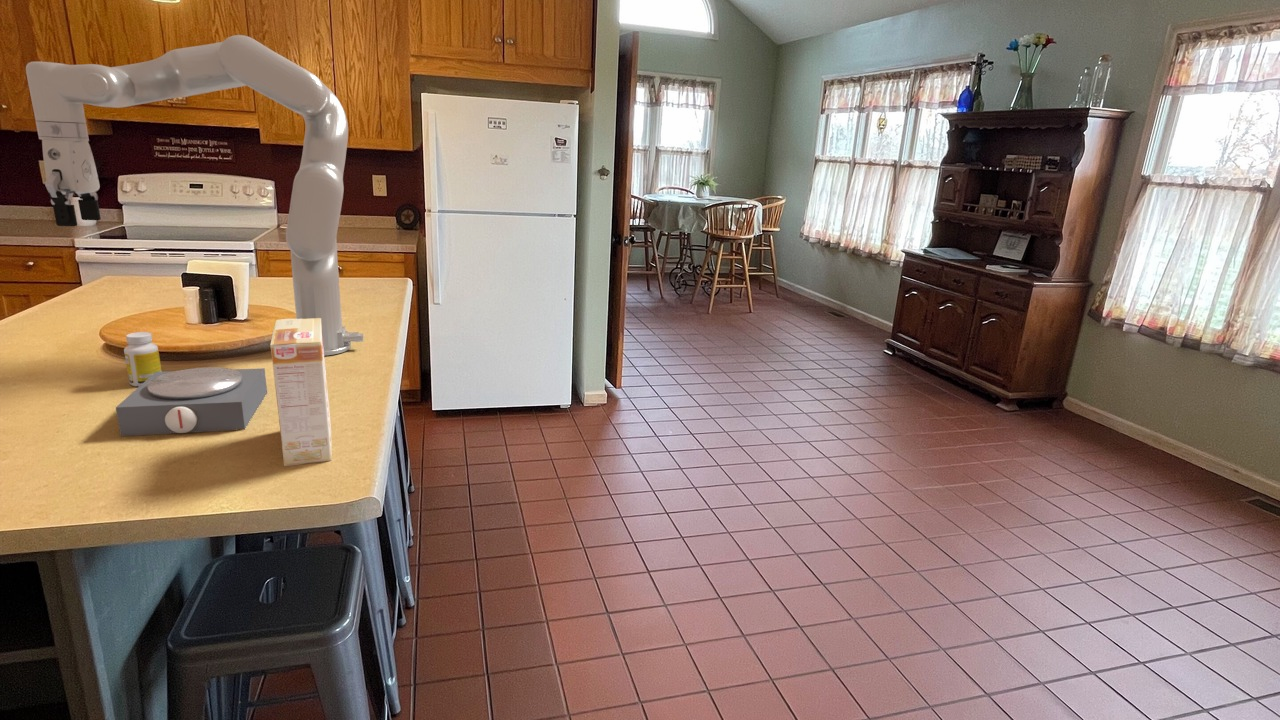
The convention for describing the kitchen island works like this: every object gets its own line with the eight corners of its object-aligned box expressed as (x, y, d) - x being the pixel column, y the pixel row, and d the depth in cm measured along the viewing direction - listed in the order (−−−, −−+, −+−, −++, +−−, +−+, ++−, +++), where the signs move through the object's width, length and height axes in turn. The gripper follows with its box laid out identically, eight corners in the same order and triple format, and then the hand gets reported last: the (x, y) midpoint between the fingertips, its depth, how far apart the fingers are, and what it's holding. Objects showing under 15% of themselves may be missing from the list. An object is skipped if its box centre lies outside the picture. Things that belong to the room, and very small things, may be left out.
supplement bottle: (169, 379, 139) (162, 331, 136) (148, 388, 134) (140, 339, 131) (144, 377, 139) (136, 329, 136) (122, 386, 134) (113, 337, 131)
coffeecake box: (286, 429, 119) (274, 318, 113) (331, 425, 122) (322, 316, 116) (281, 467, 106) (268, 344, 100) (332, 461, 109) (322, 341, 103)
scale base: (267, 392, 135) (264, 368, 133) (243, 431, 117) (240, 404, 116) (159, 397, 130) (155, 371, 128) (118, 438, 112) (113, 409, 111)
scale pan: (250, 371, 131) (249, 366, 130) (231, 397, 118) (230, 391, 118) (164, 373, 127) (163, 368, 126) (134, 401, 114) (133, 395, 114)
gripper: (63, 133, 126) (80, 228, 131) (106, 133, 142) (120, 218, 147) (13, 131, 124) (33, 228, 129) (63, 131, 140) (78, 217, 145)
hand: (79, 222), depth 138 cm, fingers open, 9 cm apart
